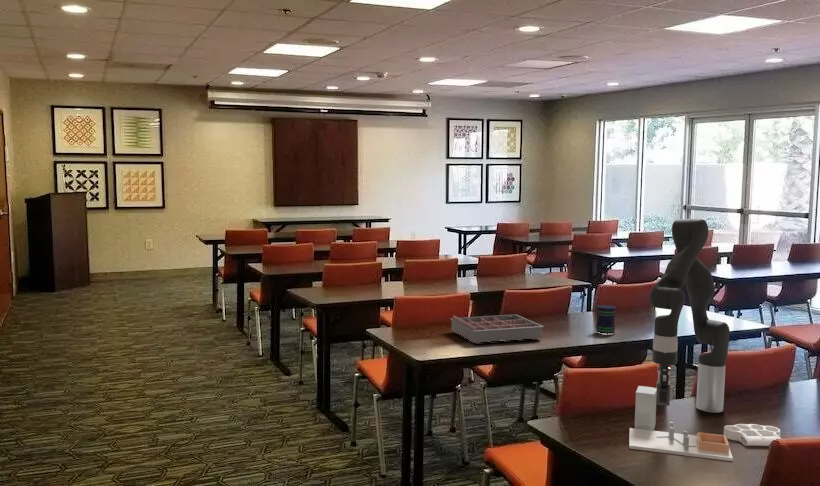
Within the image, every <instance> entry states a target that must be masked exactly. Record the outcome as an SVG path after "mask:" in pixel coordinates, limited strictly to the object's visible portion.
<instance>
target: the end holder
mask: <svg viewBox="0 0 820 486" xmlns="http://www.w3.org/2000/svg"><path fill="white" fill-rule="evenodd" d="M696 436H697V439H696V440H697V444H698V449H699V450H707V451H715V452H724V453H729V448H730V443H729V441H728V440H729V439H728V438H727V437H726V435H724V434H716V433H707V432H700V431H699V432H696ZM704 441H706V442H704ZM713 442H714V443H713ZM722 443H723V444H722Z"/></svg>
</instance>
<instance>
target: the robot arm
mask: <svg viewBox="0 0 820 486" xmlns="http://www.w3.org/2000/svg"><path fill="white" fill-rule="evenodd" d="M671 235H672V240H673V242H674V246H675V249H676V252H677V254H676V255H674V256H673V257H672V258H671V259H670V260H669V262H668V263H667V265H666V268H665V271H664V274H663V275H662V277H661V278H660V279H659V281H657V282H656V284H655V285H654V286H653V287H652V288H651V290H650V293H649V302H650V305H651V306H652V307H654V308H656V309H661V310H663V309H664V310H670V313H669V314H665V315H664V314H661V315H657V316H656V317H655V318H654V326H653V327H654V328H653V329H654V332H653V333H654V334H653V339H652V362H653V363H654V364H656V365H659V366H657V380H658V383H660V388H659V390H660V399H659V400H660V402H664V403H666V402H667V392H668V384H669V383H670V384H671V381H670V379H671V376H672V372H671V371H672V369H671V368H672V367H669V366H674V365H676V364H678V346H679V340H678V327H679V321H680V320H679V319H680V316H681V313H682V310H683V308H684V305H685V301H686V295H685V292H684V291H683V290H682V289H683V288H684V286H685V287H686V288H685V289H686V291H687V295H688V299H689V303H690V309H691V315H692V324H693V332H694V336H695V338H696V340H697V342H698V343H700V344H704V345H708V346H712V351H708V352H704V353H703V352H702V353H699V355H698V360H697V361H698V362H697V363H698V364H697V383H696V384H697V386H696V405H695V407H696V409H698V410H700V411H703V412H707V413H712V414H713V413H715V414H716V413H717V414H718V413H722V412H724V403H725V385H726V384H725V382H726V381H725V379H726V365H727V358H728V352H729V343H730V336H731V335H730V334H731V333H730V332H731V331H730V330H731V329H730V327H729V325H728V323H726V322H724V321H720V320H715V319H714V320H713V319H710V318H709V317H708V314H707V308H708V305H710V302H711V301H712V299H713V297H714V295H715V291H716V290H715V289H716V287H715V284H714V279H713V275H712V272H711V271H710V269H709V268H708V267H707V266H706V265H705V264H704V263H703V262H702V261H701V260H700V259H699V258H698V256H699V255H700V254H701V251H702V250H703V248H704V246H705V244H706V243H707V240H708V238H709V226H708V223H707V221H706V220H705V219H703V218H683V219H681V218H680V219H676V220H674V221H673V223H672V225H671ZM662 385H666V387H662Z"/></svg>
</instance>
